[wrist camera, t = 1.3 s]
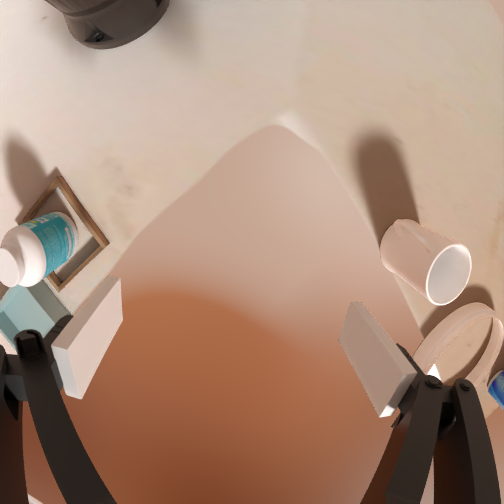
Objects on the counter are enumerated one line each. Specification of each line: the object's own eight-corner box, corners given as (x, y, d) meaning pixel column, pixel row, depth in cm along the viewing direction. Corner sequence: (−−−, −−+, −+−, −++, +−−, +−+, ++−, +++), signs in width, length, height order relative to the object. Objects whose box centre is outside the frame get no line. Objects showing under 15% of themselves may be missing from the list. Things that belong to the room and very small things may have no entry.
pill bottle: (65, 201, 35) (6, 222, 22) (88, 246, 37) (38, 284, 24) (34, 225, 35) (-22, 253, 22) (56, 266, 37) (6, 307, 25)
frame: (20, 228, 35) (14, 231, 34) (61, 176, 33) (56, 177, 32) (63, 288, 39) (58, 292, 37) (109, 243, 37) (105, 246, 36)
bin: (1, 307, 39) (-11, 318, 35) (32, 266, 37) (17, 276, 33) (50, 364, 43) (41, 377, 39) (87, 333, 41) (77, 348, 37)
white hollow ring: (409, 328, 46) (424, 344, 41) (500, 285, 46) (516, 295, 41) (397, 415, 55) (406, 431, 49) (478, 373, 54) (489, 384, 49)
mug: (358, 226, 39) (403, 254, 28) (400, 189, 38) (453, 204, 26) (394, 282, 42) (436, 319, 31) (430, 248, 41) (478, 276, 30)
